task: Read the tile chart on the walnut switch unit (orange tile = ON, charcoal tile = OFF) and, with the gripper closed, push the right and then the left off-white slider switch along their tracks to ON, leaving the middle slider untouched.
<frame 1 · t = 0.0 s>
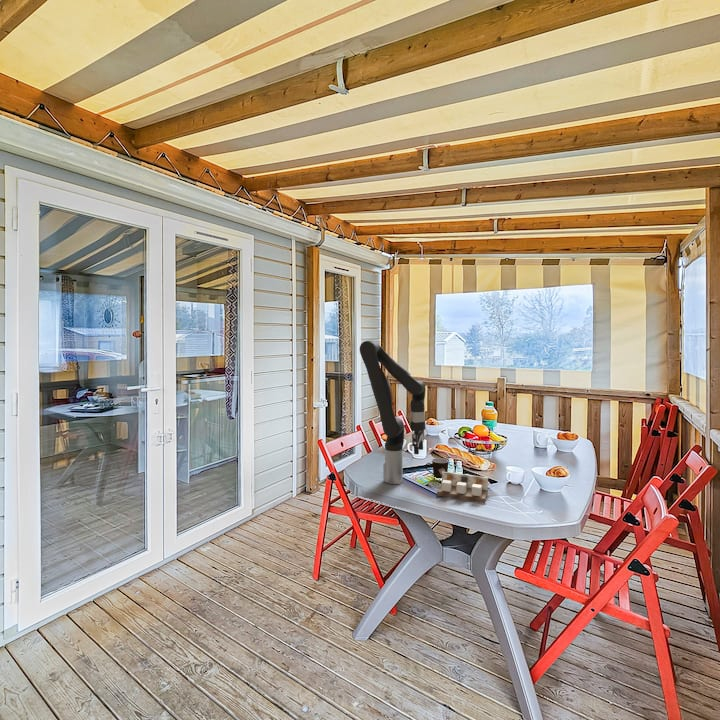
hand: (418, 451, 210), 17 cm above the table, tool pointing down, fingers open, 8 cm apart
switch right: (476, 490, 192), point 4 cm above the table, slide at 0.0 cm
switch middle: (461, 487, 195), point 4 cm above the table, slide at 0.0 cm
coffee mug: (437, 479, 220), on the table
switch unit: (462, 494, 198), on the table
switch left: (446, 485, 198), point 4 cm above the table, slide at 0.0 cm
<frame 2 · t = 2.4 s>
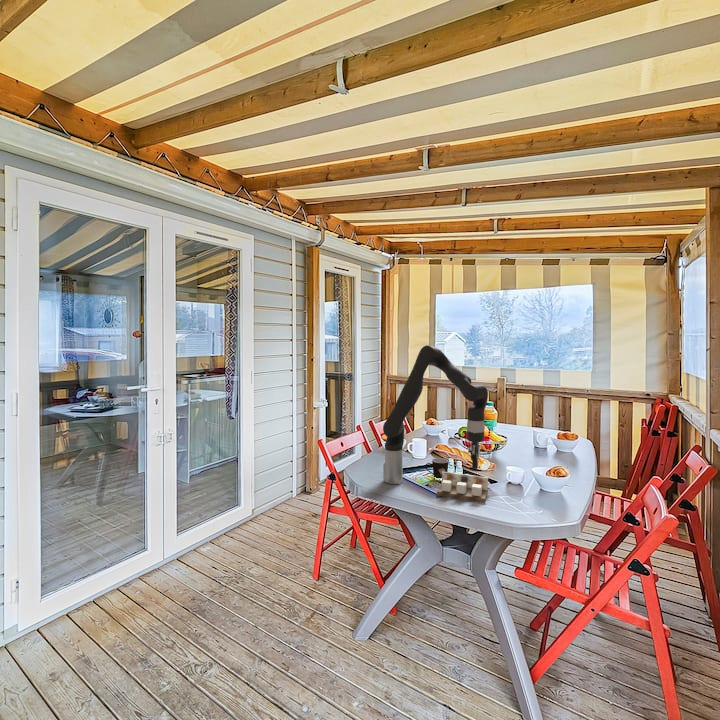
hand: (475, 468, 185), 17 cm above the table, tool pointing down, fingers closed
nothing on the table moved.
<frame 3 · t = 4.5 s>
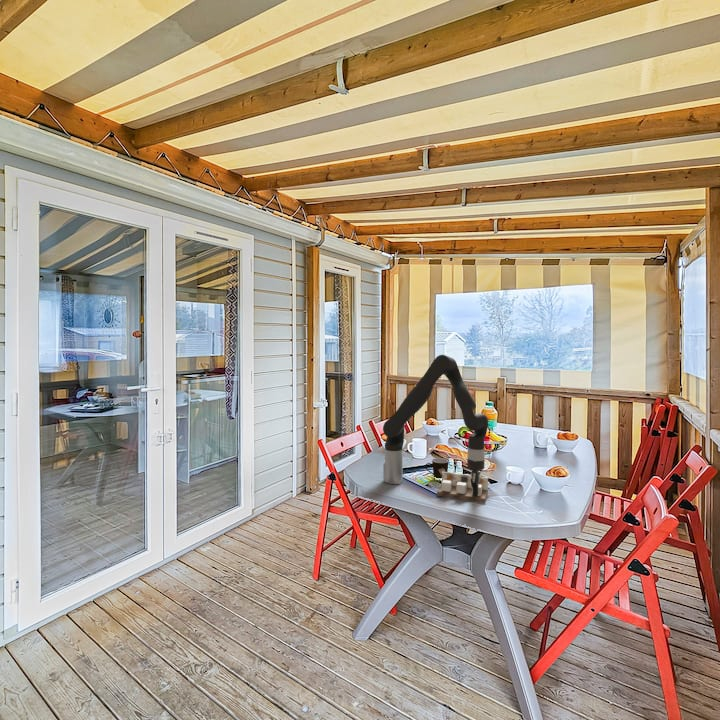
hand: (475, 495, 189), 3 cm above the table, tool pointing down, fingers closed
switch right: (476, 489, 193), point 4 cm above the table, slide at 0.3 cm, touching gripper
everything else where it was.
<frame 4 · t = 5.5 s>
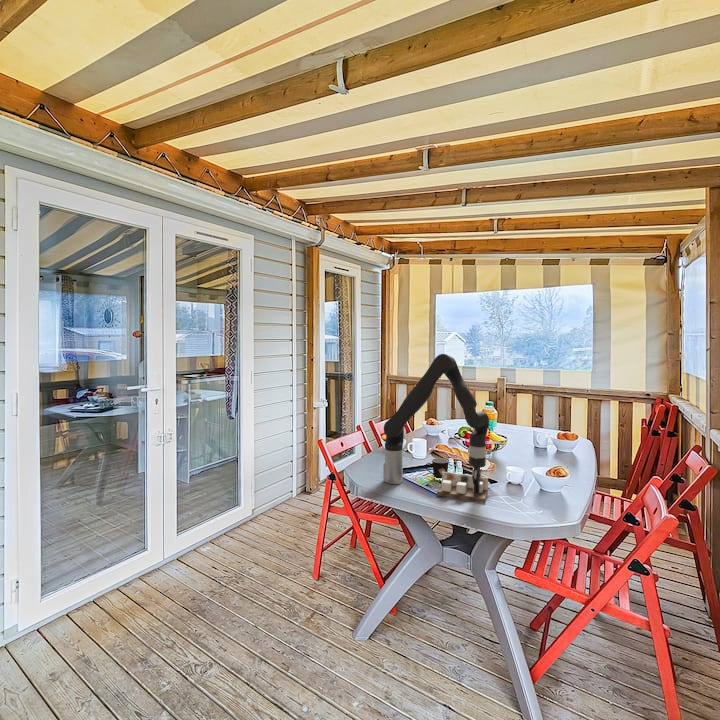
hand: (476, 491, 193), 3 cm above the table, tool pointing down, fingers closed
switch right: (478, 486, 197), point 4 cm above the table, slide at 4.5 cm, touching gripper
everything else where it was.
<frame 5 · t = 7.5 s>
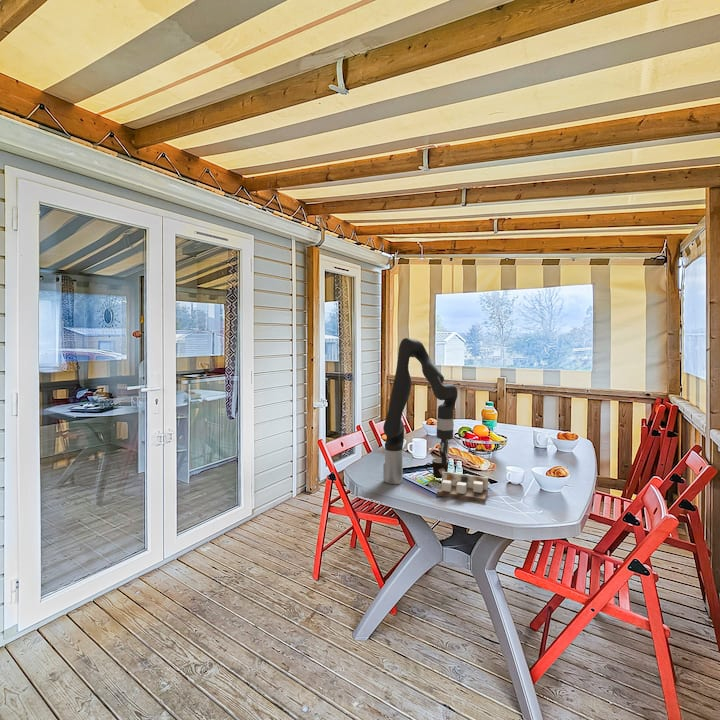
hand: (444, 464, 191), 17 cm above the table, tool pointing down, fingers closed
switch right: (478, 486, 197), point 4 cm above the table, slide at 4.6 cm
everything else where it was.
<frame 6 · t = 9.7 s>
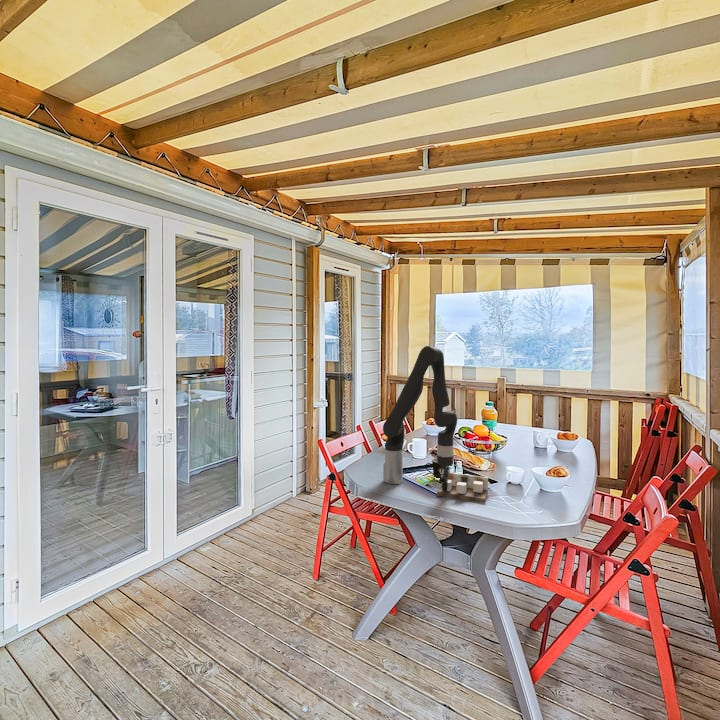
hand: (444, 490, 195), 3 cm above the table, tool pointing down, fingers closed
switch left: (446, 485, 199), point 4 cm above the table, slide at 0.8 cm, touching gripper
everything else where it was.
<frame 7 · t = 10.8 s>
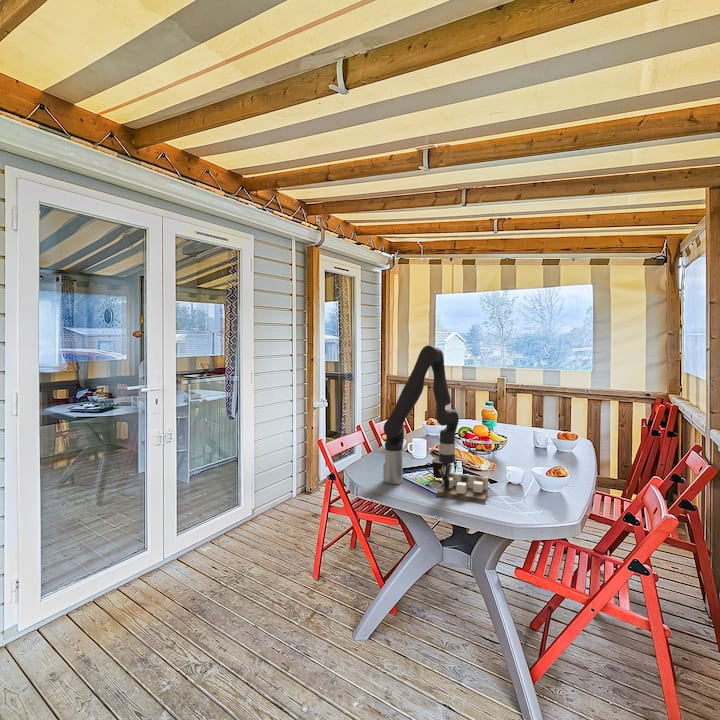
hand: (446, 487, 198), 3 cm above the table, tool pointing down, fingers closed
switch left: (448, 482, 202), point 4 cm above the table, slide at 4.6 cm, touching gripper
everything else where it was.
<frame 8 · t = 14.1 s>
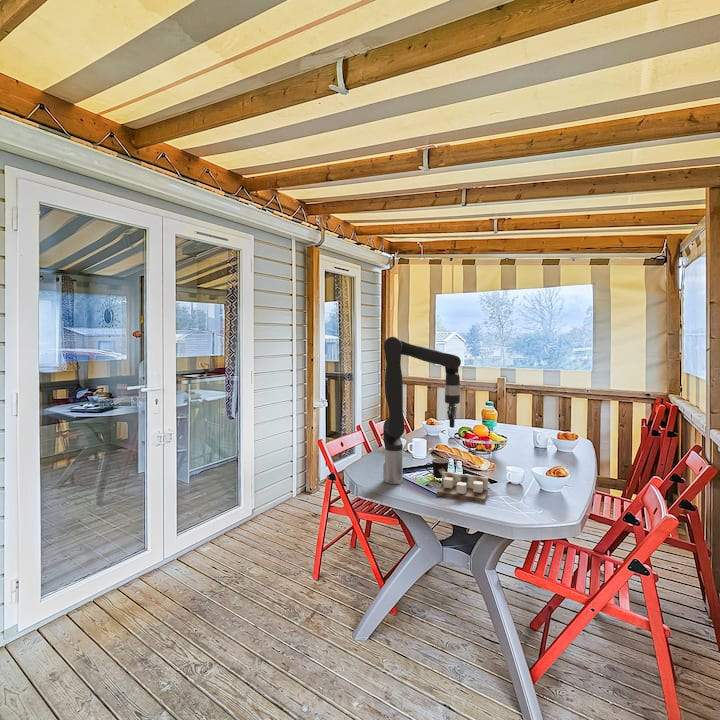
hand: (451, 427, 212), 29 cm above the table, tool pointing down, fingers closed
switch left: (448, 482, 202), point 4 cm above the table, slide at 4.6 cm
everything else where it was.
at the end: switch right slide at 4.6 cm; switch left slide at 4.6 cm; switch middle slide at 0.0 cm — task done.
